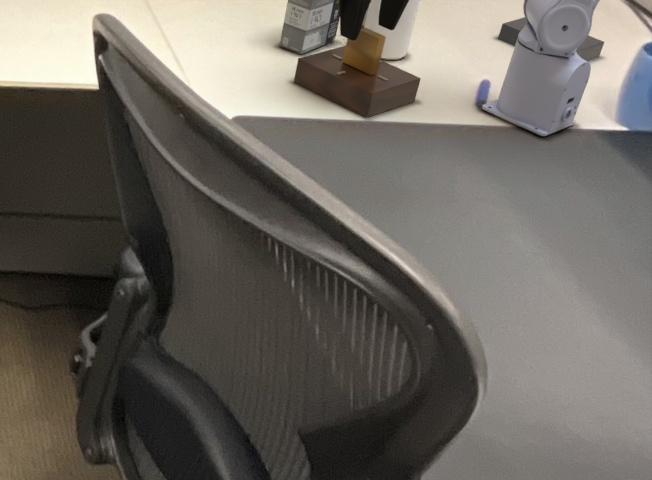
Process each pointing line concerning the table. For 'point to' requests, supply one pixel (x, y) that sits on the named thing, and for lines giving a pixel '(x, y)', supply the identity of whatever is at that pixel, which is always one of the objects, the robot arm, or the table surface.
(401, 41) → the can
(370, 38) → the thumbturn
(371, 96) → the plate
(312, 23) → the tape cartridge
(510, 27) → the dark grey rectangular block
